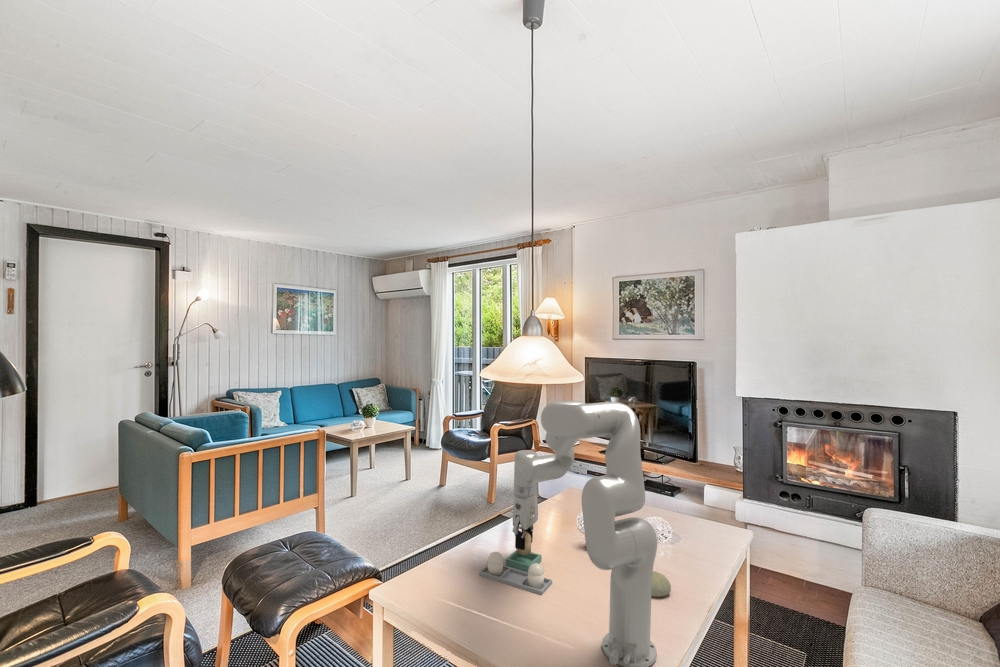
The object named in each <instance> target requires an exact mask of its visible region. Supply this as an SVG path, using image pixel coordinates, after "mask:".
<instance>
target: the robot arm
mask: <svg viewBox="0 0 1000 667" xmlns="http://www.w3.org/2000/svg"><path fill="white" fill-rule="evenodd" d="M540 414H541V415H540V423H541V426H542V428H543V430H544V431H545V432H546V434H545V438H544V439H545V443H546V444H547V446H548V447H549V449H551V451H553V452H554V453H553V454H546V455H540V456H539V455H538V453H537V452H535V451H533V450H530V449H529V450H528V449H522V450H518V451H516V452H515V455H514V468H513V469H514V470H513V472H514V474H513V495H514V497H513V507H512V526H513V527H512V532H513V533H514V537H515V540H514V541H515V542H514V546H515V549H516V548H517V549H521V550H524V549H525V537H524V533H525V531H526V532H528V533H529V534H530V535H531V544H532V543H533V536H534V534H533V532H534V531H533V530H534V524H535V523H537V521H538V520H539V503H538V502H539V501H538V483H543V482H548V481H553V480H558V479H560V478H563V477H564V476H565V475H566V474H567V473H568V472H569V470H570V469H571V468H572V466H573V465H574V461H575V450H574V447H575V445H576V443H577V442H578V441H579V439H580V440H582V439H583V440H584V439H585V440H586V439H592V438H600V437H604V436H605V437H606V436H609V437H610V439H609V441H608V443H607V446H606V450H605V453H604V454H605V455H604V460H605V466H606V468H605V472H606V473H605V474H604V475H598V476H595V477H593V478H590V479H588V480H587V481H586V483H585V485H584V486H583V488H582V492H581V509H582V520H583V529H584V531H583V533H584V539H585V540H584V541H585V546H586V547H585V548H586V551H587V555H588V557H589V560H590V561H591V563H592V565H593V566H594V567H596V568H597V569H599V570H602V571H610V570H611V572H610V581H609V583H610V585H609V586H610V587H609V616H608V617H609V622H608V623H609V624H608V626H609V627H608V633H606V634H605V635H604V636H603V638H602V641H601V647H602V651H603V653H604V654H605V656H606V657H607V658H608V660H609V663H611V665H614V666H615V665H619V666H621V667H650V666H652V665H654V664H655V662H656V660H657V658H658V657H657V655H658V652H657V648H656V646H655V644H654V643H653V642H652V641H651V625H652V624H651V623H652V622H651V618H652V596H651V591H652V572H653V571H654V564H655V559H656V555H657V551H658V537H657V533H656V530H655V528H654V527H653V525H652V524H651V523H650V522H649V521H647V520H645V519H644V518H641V517H626V518H623V519H618V520H615V518H618V517H620V516H624V515H628V514H632V513H636V512H638V511H640V510H641V509H643V507H644V506H645V504H646V503H645V502H646V490H645V489H646V488H645V481H644V472H643V463H642V457H641V456H642V455H641V426H640V425H641V424H640V421H639V419H638V416H637V414H636V412H634V410H633V409H632V407H630V406H629V405H626V404H625V403H622V402H617V401H602V402H600V401H599V402H591V403H586V402H584V401H581V400H576V399H575V400H561V401H553V402H549V403H547V405H545V406H544V408H543V409H542V411H541V413H540ZM521 531H522V533H521Z"/></svg>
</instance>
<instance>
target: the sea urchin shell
mask: <svg viewBox="0 0 1000 667" xmlns="http://www.w3.org/2000/svg"><path fill="white" fill-rule="evenodd" d="M671 586H672V584H671V583H670V581H669V579H668V578H667V577H666V575H664V574H663V573H661V572H658V571H654V570H653V572H652V591H651V597H655V598H656V597H658V598H660V597H661V598H662V597H666V596H668V595H669V594H670V593H671V591H672V589H671V588H672V587H671Z"/></svg>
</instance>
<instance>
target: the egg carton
mask: <svg viewBox="0 0 1000 667" xmlns="http://www.w3.org/2000/svg"><path fill="white" fill-rule="evenodd" d="M478 576H481V577H482V578H486V579H490V580H492V581H496V582H499V583H502V584H505V585H509V586H512V587H515V588H519V589H521V590H524V591H527V592H530V593H533V594H537V595H540V596H543V595H544V594H545V593H546V592H547V590H548V589H549V588H550V587H551V585H553V580H552V579H551V578H547V577H544V587H543V588H542V589H540V590H539V589H535V588H532V587H529V586H528V572H525V571H521V570H518V569H515V568H511V567H508V566H506V565H504V564H503V574H502V575H501V576H499V577H497V576H494V575H491V574H488V564H486V565H485V566H484V567H482V569H481V570H479V571H478Z"/></svg>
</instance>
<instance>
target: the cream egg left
mask: <svg viewBox="0 0 1000 667" xmlns="http://www.w3.org/2000/svg"><path fill="white" fill-rule="evenodd" d="M487 565H488V574H491V575H494V576H497V577H499V576H501V575H502V574H503V565H504V557H503V554H502V553H501V552H499V551H492V552H491V553H490V554H489V555H488V557H487Z"/></svg>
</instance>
